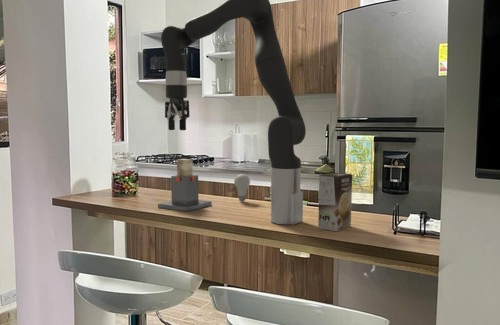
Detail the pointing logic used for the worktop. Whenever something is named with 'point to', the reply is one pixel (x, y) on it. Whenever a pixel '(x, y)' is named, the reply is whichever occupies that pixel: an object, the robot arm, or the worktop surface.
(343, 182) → the coffee box
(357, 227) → the worktop surface
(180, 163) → the column
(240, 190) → the lightbulb
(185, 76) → the robot arm
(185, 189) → the stand
